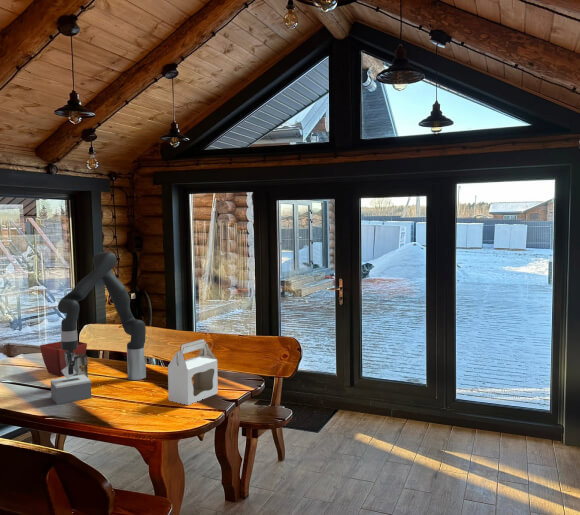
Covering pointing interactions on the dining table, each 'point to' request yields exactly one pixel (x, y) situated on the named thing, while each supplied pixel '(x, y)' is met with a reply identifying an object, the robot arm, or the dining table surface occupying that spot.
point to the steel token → (65, 372)
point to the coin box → (70, 389)
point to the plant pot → (58, 356)
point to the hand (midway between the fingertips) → (70, 373)
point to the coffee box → (81, 365)
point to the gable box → (185, 369)
